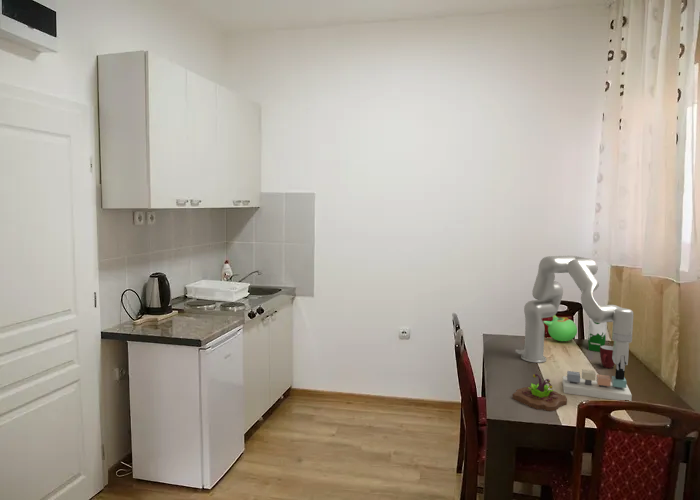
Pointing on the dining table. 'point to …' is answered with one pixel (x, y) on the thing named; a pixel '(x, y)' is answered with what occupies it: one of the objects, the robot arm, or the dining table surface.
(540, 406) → the plant
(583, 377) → the key
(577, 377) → the key
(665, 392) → the dining table surface
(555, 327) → the toy bird
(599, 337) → the milk carton
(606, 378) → the key
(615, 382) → the key
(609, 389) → the keypad base
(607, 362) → the mug
